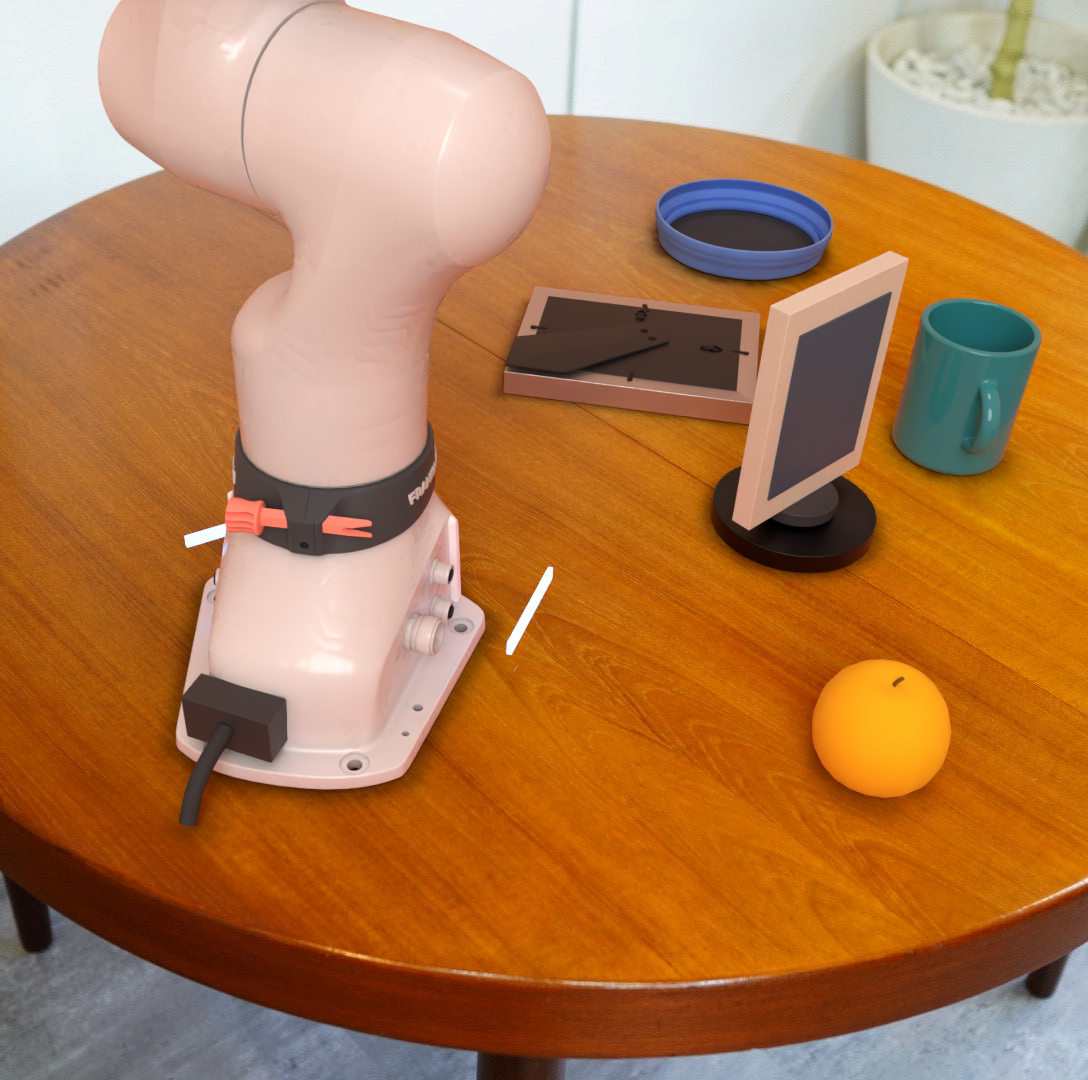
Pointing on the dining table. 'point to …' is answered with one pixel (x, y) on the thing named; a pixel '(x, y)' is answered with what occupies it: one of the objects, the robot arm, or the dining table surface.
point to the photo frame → (816, 393)
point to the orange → (881, 728)
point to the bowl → (742, 228)
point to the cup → (964, 385)
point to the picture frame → (636, 355)
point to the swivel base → (798, 531)
